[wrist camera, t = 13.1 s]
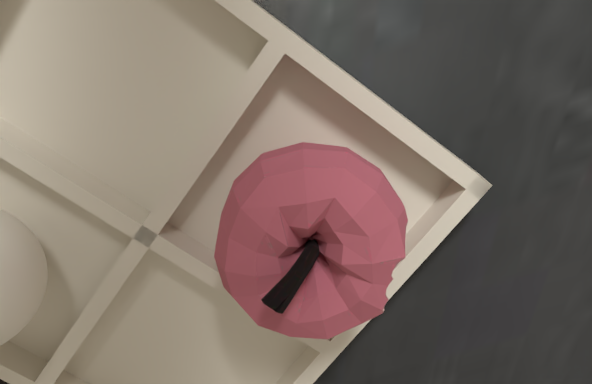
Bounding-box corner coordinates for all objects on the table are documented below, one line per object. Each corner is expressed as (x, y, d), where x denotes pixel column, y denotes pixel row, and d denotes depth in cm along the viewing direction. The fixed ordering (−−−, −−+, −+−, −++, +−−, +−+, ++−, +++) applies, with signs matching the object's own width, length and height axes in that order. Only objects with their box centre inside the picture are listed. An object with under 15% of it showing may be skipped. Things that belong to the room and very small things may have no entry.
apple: (350, 285, 31) (376, 404, 22) (213, 250, 30) (179, 358, 21) (405, 141, 28) (462, 205, 19) (255, 96, 27) (236, 141, 18)
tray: (-147, 264, 31) (-183, 285, 29) (57, -150, 24) (32, -168, 22) (221, 459, 37) (216, 489, 34) (476, 171, 30) (492, 185, 27)
